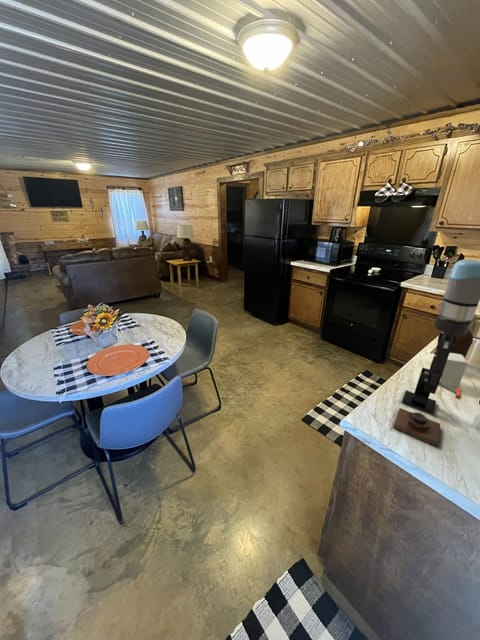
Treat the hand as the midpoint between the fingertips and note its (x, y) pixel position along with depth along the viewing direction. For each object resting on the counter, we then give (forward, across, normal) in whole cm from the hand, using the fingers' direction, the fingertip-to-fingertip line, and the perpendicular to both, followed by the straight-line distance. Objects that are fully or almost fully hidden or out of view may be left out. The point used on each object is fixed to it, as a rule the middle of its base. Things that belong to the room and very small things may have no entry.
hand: (431, 382), depth 81 cm
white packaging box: (+18, -38, +6) cm, 43 cm away
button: (+15, 0, 0) cm, 15 cm away
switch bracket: (+18, -15, -1) cm, 23 cm away
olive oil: (+18, -54, +6) cm, 57 cm away
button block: (+18, 0, 0) cm, 18 cm away
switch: (+8, -15, +3) cm, 17 cm away
